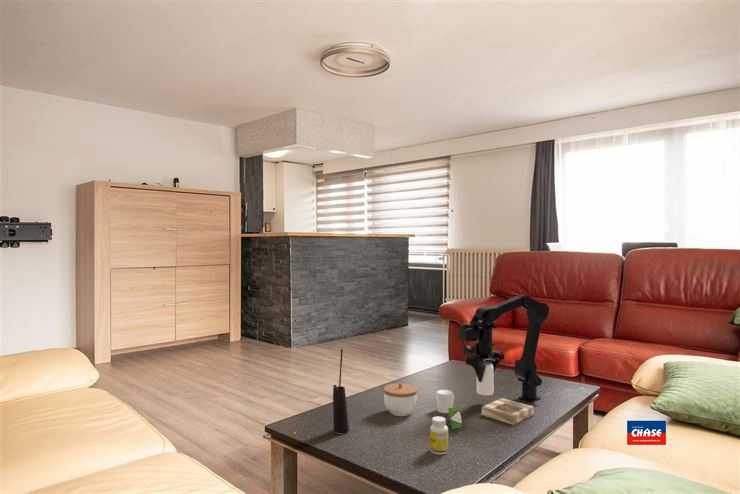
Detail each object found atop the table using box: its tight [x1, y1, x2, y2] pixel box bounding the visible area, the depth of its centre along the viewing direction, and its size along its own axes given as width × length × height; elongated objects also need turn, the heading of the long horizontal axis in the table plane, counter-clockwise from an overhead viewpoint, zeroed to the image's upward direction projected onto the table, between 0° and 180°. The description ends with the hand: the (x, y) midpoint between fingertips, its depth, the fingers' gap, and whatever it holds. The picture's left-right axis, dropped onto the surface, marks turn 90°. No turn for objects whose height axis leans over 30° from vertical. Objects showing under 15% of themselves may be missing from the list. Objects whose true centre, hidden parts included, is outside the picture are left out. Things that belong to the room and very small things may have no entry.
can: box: [476, 361, 495, 397], centre depth 180 cm, size 6×6×12 cm
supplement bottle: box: [429, 415, 449, 455], centre depth 139 cm, size 5×5×10 cm
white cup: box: [435, 389, 455, 414], centre depth 173 cm, size 7×7×7 cm
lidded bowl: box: [382, 382, 418, 417], centre depth 171 cm, size 13×13×11 cm
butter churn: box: [332, 348, 350, 434], centre depth 155 cm, size 9×10×28 cm
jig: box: [481, 397, 535, 426], centre depth 169 cm, size 14×13×3 cm
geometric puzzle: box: [444, 406, 467, 430], centre depth 158 cm, size 7×7×8 cm
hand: (485, 380), depth 180 cm, fingers closed on can, 6 cm apart
